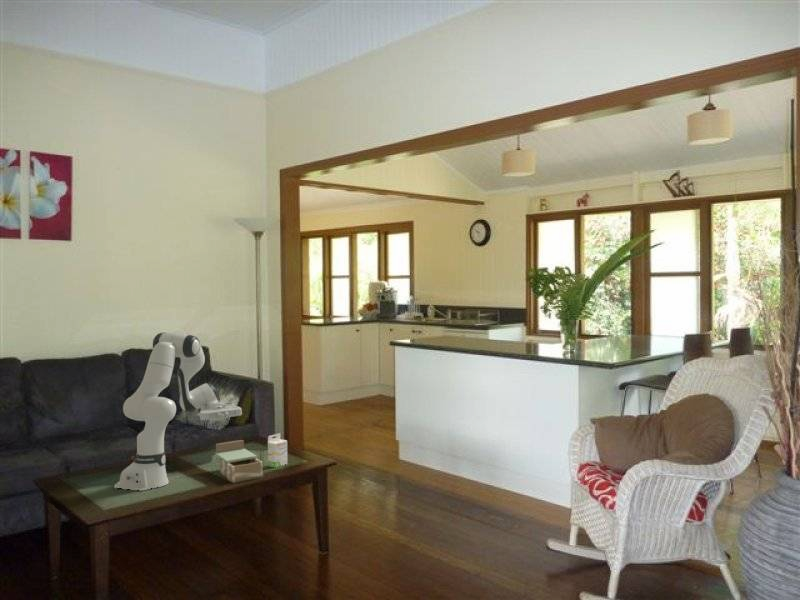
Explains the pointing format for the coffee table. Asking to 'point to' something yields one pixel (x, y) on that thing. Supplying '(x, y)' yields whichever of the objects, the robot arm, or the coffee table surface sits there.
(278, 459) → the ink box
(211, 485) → the coffee table surface
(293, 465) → the coffee table surface
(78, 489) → the coffee table surface
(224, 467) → the box
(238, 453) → the lid
